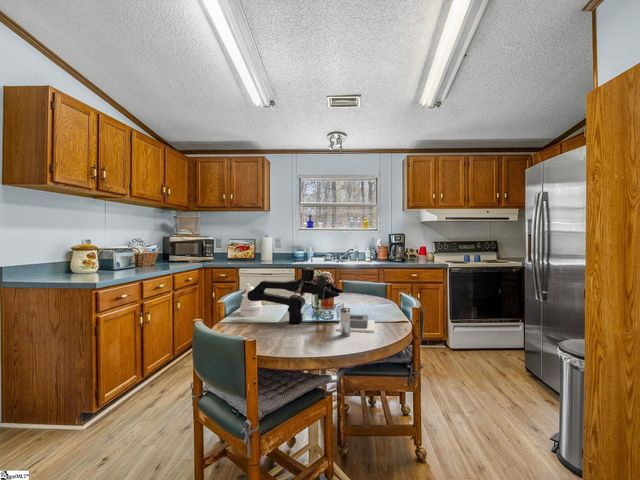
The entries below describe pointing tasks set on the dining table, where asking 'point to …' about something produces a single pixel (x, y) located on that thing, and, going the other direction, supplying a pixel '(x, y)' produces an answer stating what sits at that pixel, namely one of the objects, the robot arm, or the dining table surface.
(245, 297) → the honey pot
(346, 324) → the grey cylindrical piece
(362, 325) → the mount
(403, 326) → the dining table surface
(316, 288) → the robot arm
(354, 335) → the dining table surface
